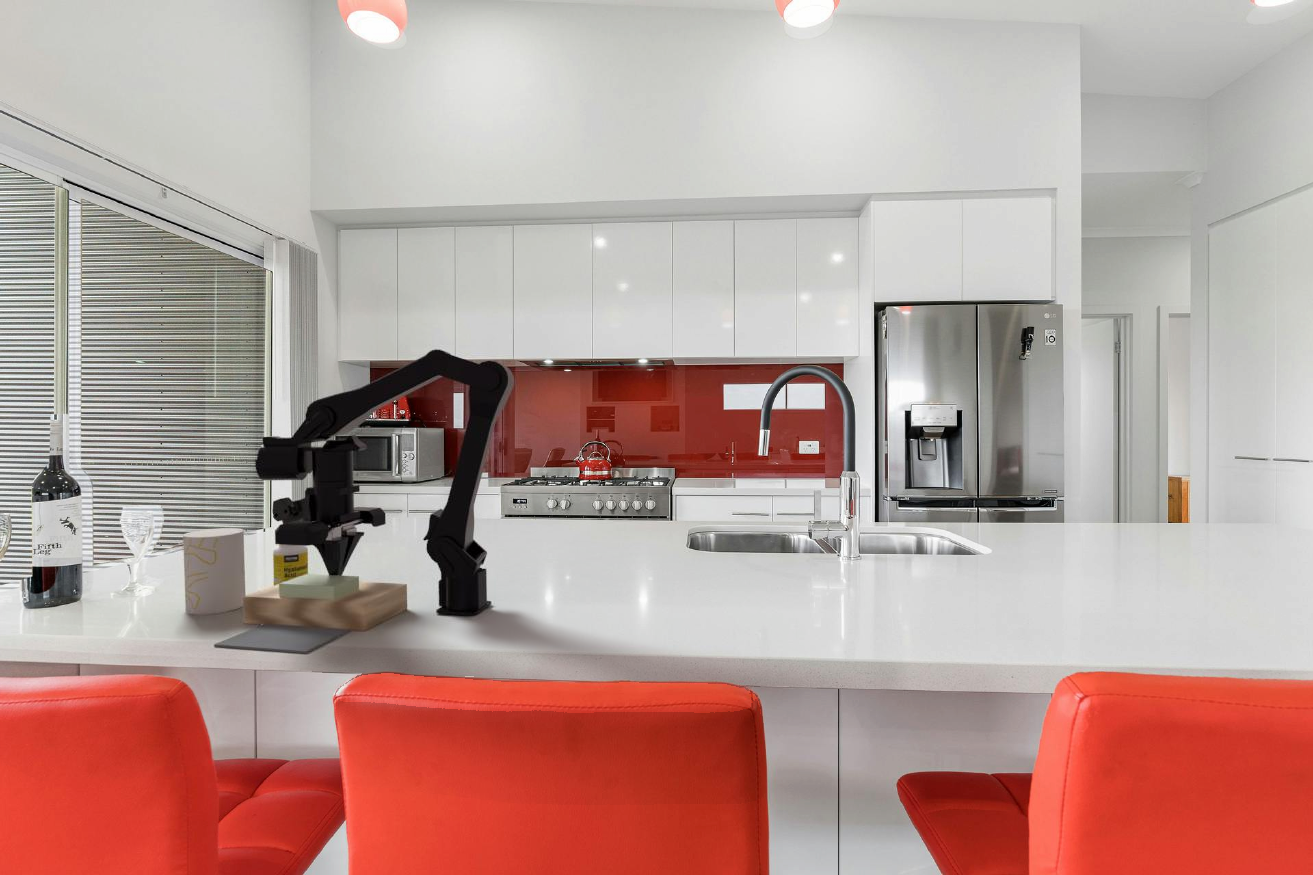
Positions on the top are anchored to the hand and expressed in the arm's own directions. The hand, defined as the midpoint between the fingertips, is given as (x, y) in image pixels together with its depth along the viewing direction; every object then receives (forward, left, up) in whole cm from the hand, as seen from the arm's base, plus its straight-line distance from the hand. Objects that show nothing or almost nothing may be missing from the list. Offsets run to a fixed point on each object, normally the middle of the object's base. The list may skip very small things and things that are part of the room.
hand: (335, 579), depth 108 cm
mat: (-1, +13, -5) cm, 14 cm away
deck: (0, +2, -5) cm, 5 cm away
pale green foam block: (0, +4, -1) cm, 4 cm away
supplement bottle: (+17, -11, -5) cm, 21 cm away
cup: (+21, +1, -5) cm, 22 cm away
